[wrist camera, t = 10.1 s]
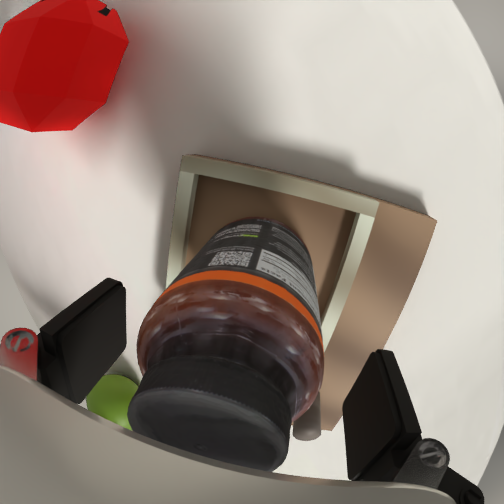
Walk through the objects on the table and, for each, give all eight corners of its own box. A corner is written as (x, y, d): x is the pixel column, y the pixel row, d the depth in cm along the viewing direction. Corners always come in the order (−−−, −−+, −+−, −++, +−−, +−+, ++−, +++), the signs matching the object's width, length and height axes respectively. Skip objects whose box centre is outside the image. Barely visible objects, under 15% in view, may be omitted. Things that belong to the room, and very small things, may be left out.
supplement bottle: (243, 327, 18) (189, 497, 7) (186, 248, 16) (53, 384, 6) (332, 285, 16) (363, 473, 5) (277, 191, 15) (225, 305, 4)
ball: (158, 22, 13) (87, -26, 6) (114, 137, 16) (24, 142, 9) (75, 20, 13) (4, -4, 6) (41, 116, 16) (-37, 120, 9)
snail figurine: (95, 347, 23) (17, 439, 11) (158, 379, 22) (94, 491, 11) (97, 383, 24) (36, 466, 13) (152, 411, 24) (102, 507, 13)
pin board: (331, 420, 21) (332, 465, 17) (170, 382, 22) (148, 423, 18) (428, 215, 15) (469, 240, 10) (195, 154, 16) (157, 157, 11)
